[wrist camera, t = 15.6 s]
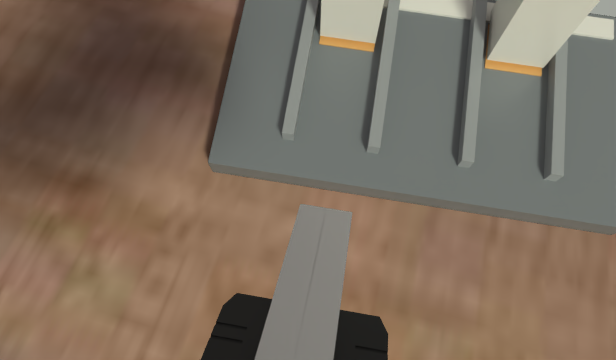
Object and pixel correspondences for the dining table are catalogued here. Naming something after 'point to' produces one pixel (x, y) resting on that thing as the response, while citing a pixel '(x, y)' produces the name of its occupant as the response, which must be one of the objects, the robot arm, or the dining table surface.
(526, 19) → the tab right
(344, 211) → the robot arm
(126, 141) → the dining table surface
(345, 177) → the switch bank
